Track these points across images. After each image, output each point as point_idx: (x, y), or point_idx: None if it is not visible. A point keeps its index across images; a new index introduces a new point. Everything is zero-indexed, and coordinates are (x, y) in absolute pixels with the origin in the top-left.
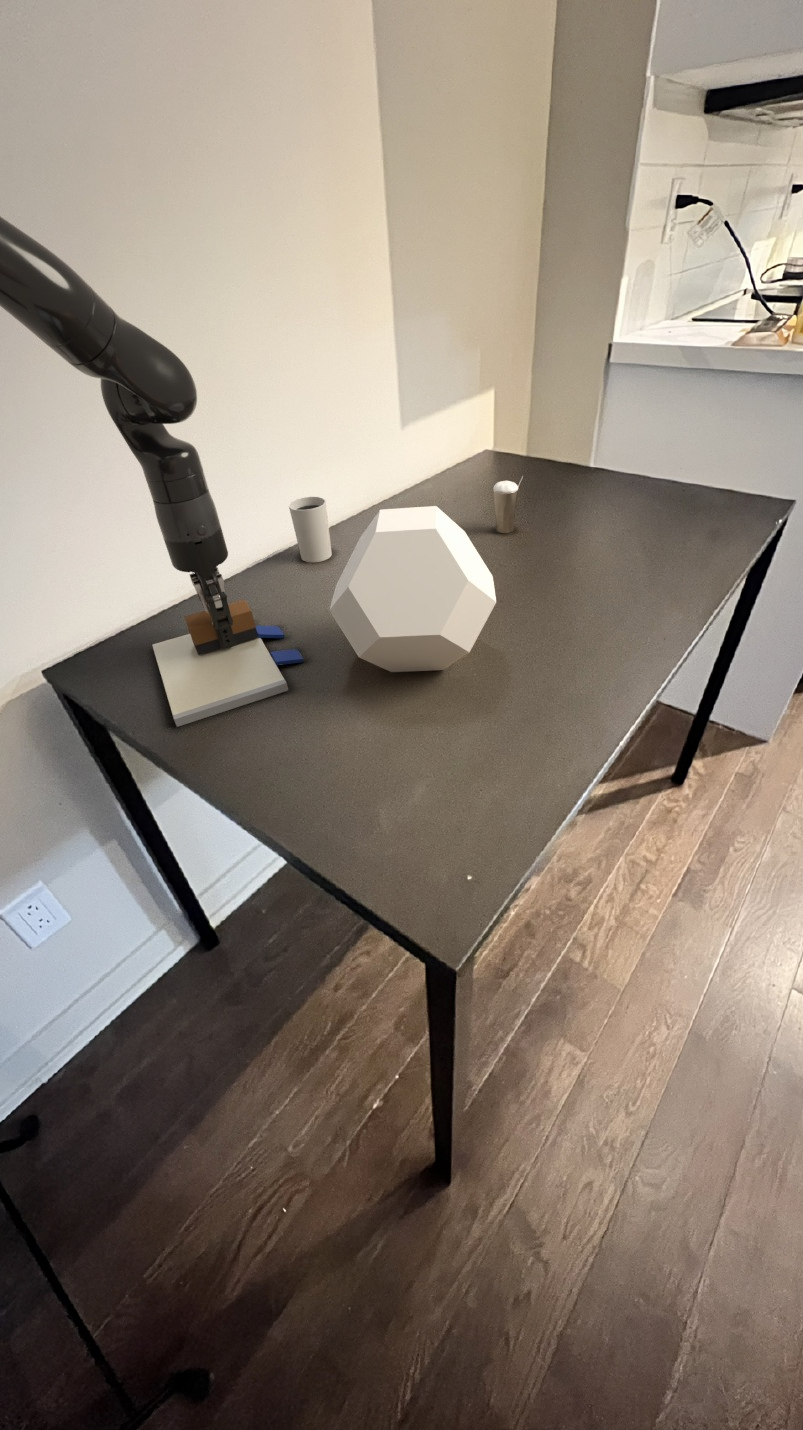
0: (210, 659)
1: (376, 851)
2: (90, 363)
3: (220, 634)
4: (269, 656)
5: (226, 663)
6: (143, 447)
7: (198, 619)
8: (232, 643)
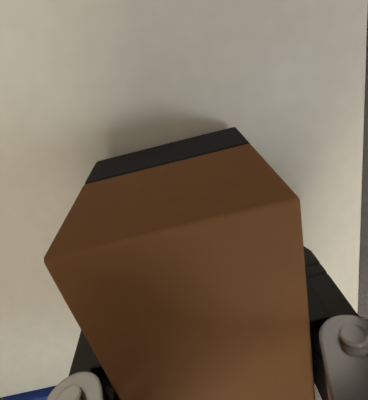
0: (67, 208)
1: None
2: None
3: (75, 351)
4: (49, 384)
5: (22, 270)
6: None
7: (186, 310)
8: None
